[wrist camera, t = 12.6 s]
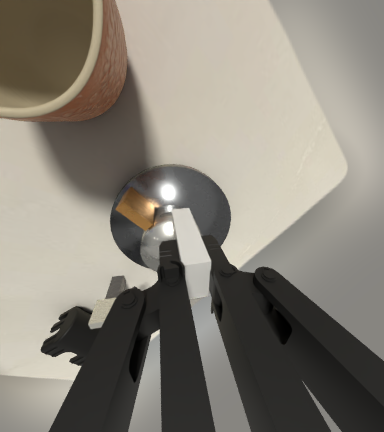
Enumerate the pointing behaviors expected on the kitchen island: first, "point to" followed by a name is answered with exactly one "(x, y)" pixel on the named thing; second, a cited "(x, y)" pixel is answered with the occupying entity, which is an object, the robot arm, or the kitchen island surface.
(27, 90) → the planter
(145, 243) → the cover
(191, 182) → the turntable
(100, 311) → the gray post with pin
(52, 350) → the end cap
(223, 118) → the kitchen island surface
